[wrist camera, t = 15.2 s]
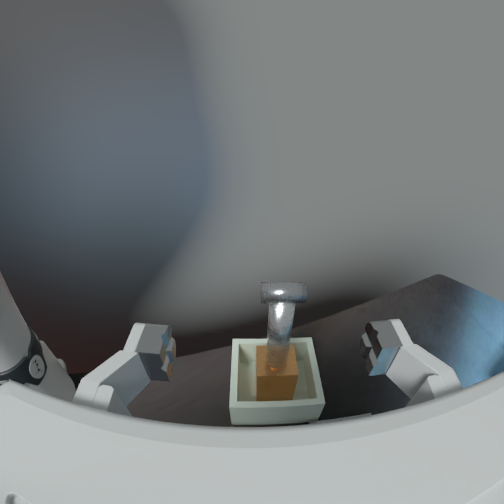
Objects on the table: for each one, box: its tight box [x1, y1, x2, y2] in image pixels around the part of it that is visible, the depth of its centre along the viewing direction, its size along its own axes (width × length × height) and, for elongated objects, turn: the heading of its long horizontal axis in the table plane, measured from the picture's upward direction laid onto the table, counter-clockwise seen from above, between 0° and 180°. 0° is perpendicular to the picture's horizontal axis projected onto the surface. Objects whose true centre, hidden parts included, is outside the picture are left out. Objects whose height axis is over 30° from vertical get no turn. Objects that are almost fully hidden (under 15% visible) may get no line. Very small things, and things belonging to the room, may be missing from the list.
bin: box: [229, 337, 325, 425], centre depth 40 cm, size 13×13×6 cm
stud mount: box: [309, 413, 371, 424], centre depth 29 cm, size 10×10×8 cm
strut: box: [256, 282, 307, 401], centre depth 36 cm, size 6×6×21 cm
